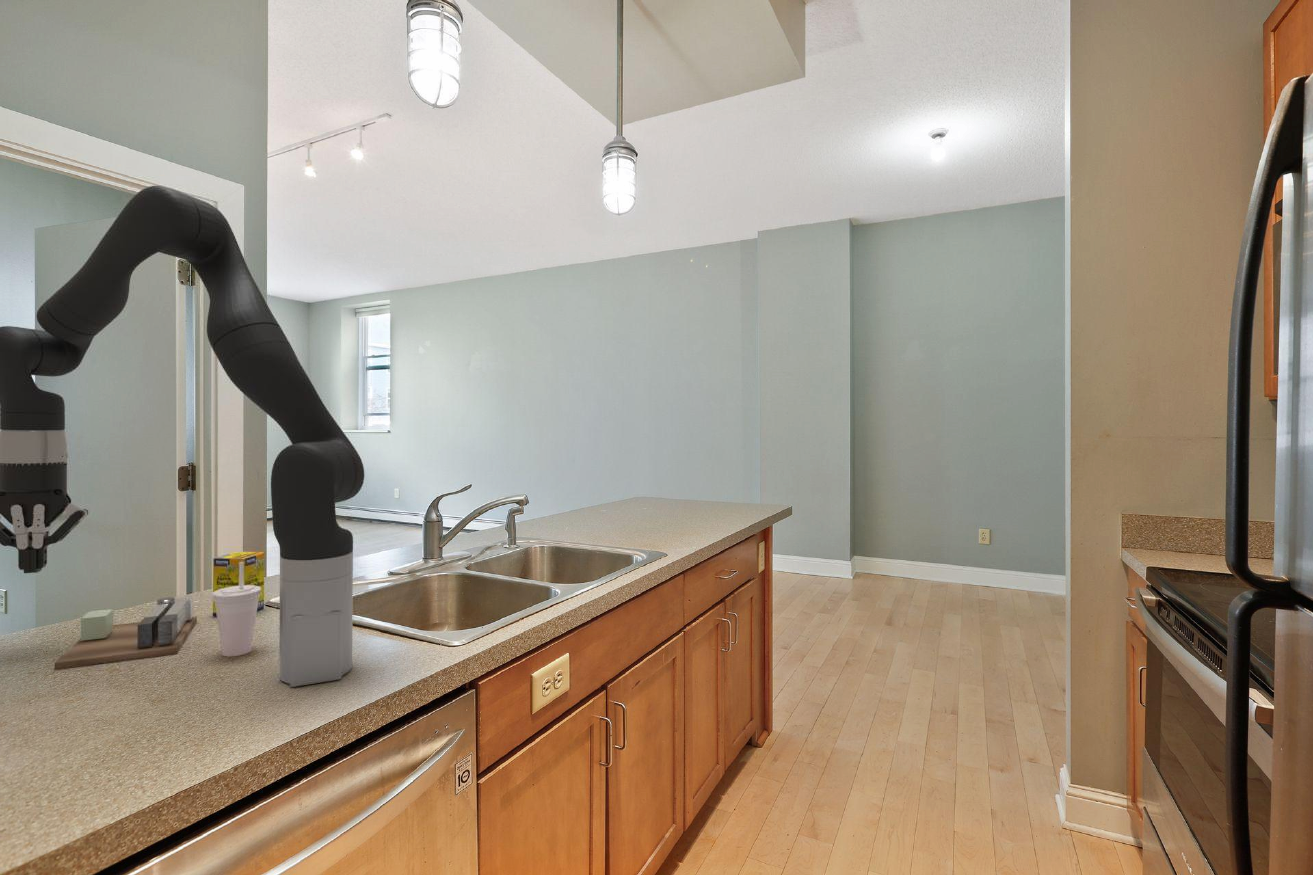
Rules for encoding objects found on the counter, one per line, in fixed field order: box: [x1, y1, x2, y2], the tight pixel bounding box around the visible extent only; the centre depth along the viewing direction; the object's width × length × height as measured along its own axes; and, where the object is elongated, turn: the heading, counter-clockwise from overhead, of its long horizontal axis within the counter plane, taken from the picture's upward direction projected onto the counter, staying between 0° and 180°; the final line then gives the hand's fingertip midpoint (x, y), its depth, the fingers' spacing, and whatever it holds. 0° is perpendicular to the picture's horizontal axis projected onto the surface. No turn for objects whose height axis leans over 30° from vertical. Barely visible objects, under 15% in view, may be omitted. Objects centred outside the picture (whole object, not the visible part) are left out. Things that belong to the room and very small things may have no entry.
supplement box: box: [212, 551, 266, 618], centre depth 115 cm, size 6×6×11 cm
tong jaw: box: [138, 604, 169, 648], centre depth 99 cm, size 12×2×4 cm, turn 28°
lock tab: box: [80, 608, 114, 641], centre depth 99 cm, size 4×3×4 cm
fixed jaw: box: [156, 596, 194, 646], centre depth 101 cm, size 15×5×4 cm, turn 28°
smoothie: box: [211, 562, 262, 658], centre depth 96 cm, size 6×6×14 cm
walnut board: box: [53, 615, 198, 671], centre depth 99 cm, size 17×14×1 cm
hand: (33, 571), depth 95 cm, fingers closed
